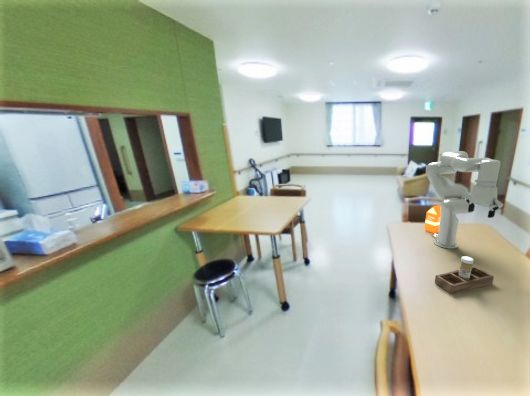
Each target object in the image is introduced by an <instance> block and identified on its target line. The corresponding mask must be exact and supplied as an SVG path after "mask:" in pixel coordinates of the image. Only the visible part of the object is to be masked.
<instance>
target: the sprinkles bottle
mask: <svg viewBox="0 0 530 396" xmlns="http://www.w3.org/2000/svg"><path fill="white" fill-rule="evenodd" d="M473 264H474V258H472V257H470V256H467V255H464V256H461V257H460V266H459V269H458V270H459V276H458V277H460V278H461V279H463V280H465V281H469V278H470V274H471V269H472V267H473Z"/></svg>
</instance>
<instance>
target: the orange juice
mask: <svg viewBox="0 0 530 396" xmlns="http://www.w3.org/2000/svg"><path fill="white" fill-rule="evenodd" d="M440 216H441V211H440V204H438V205H434V206H432V207H431V208H430V209H429V210H427V211H426V215H425V221H424V231H426V230H427V231H426V232H430V233H432V234H435V233H436V234H438V231H439V224H440Z"/></svg>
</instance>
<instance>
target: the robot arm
mask: <svg viewBox="0 0 530 396" xmlns="http://www.w3.org/2000/svg"><path fill="white" fill-rule="evenodd" d="M500 168H501V160H498V159H492V158H489V157H469V155H468V152H466V151H463V150H456V151H446V152H443V153H442V154H440V155H439V161H435V162H433V161H432V162H430V163H428V164H427V165H426V166H425V174H426V177H427V179H428V180H429V182H430V183H431V184H432V186H433V189H434V191H435V193H436V196H437V197H438V199H440V200H442V201H441V202H440V204H439V205H440V211H441V216H440V224H439V231H438V232H437V233H433V235H432V237H433V238H435V239H434V241H433V243H434V244H435V245H436V246H438V247H440V248H442V249H443V248H444V249H452V250H453V249H457V248H458V247H459V245H458V243H457V242H456V240H457V233H458V227H459V219H458V217H457V216H456V215H464V214H465V215H466V214H468V215H469V214H472V213H473V212H474V211H475V210H476V209H475V208H476V205H479V206H483V207H488V208H489V210H488V213H487V218H488V219H491V218H494V217H495V214H496V211H497V210H499V209H501V208H502V207H503V206H504V203H502V202H501V201H500V200H499V199H498V186H497V183H498V179H499V173H500ZM456 172H460V173H475V172H477V173H478V175H477V179H474V183H476V184H474V185H473V187H472V189H471V192H470V193H469V191H468V189H467V188H466V187H465V186H463V185H451V184H450V183H449V180H448V179H447V178H446V177H444V176H443V175H445V174H446V175H447V174H448V175H449V174H454V173H456Z"/></svg>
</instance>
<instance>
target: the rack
mask: <svg viewBox="0 0 530 396" xmlns="http://www.w3.org/2000/svg"><path fill="white" fill-rule="evenodd" d="M458 276H459V269H457V270H454V271H453V270H452V271H449V272H445V273H440V274H436V275H435V278H434V284H435V285H437V286H438V287H440V288H442V289H443V290H445V291H447V292H448V293H449V294H451V295H453V294H457V293H461V292H465V291H469V290H473V289H478V288H481V287H485V286H489V285H493V283H494V277H495V276H494V275H493V274H491V273H489V272H487V271H485V270H482V269H480V268H478V267H476V266H475V265H474V266H472V269H471V274H470V278H469V281H465V280H463V279H461V278H460V277H458Z"/></svg>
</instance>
